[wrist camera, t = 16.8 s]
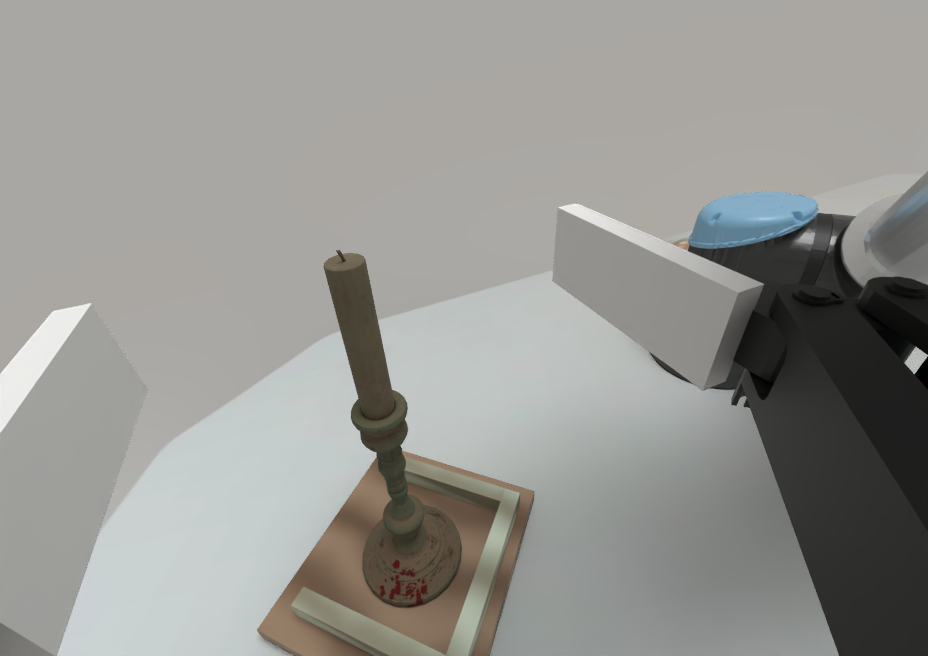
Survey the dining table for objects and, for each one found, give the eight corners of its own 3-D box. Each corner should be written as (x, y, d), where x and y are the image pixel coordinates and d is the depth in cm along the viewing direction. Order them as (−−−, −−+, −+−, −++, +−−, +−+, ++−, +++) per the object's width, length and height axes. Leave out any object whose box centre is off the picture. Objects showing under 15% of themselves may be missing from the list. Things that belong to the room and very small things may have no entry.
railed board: (386, 453, 49) (382, 433, 47) (533, 499, 43) (535, 479, 41) (262, 637, 34) (248, 619, 32) (462, 749, 28) (458, 734, 26)
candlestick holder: (345, 596, 35) (202, 285, 18) (383, 501, 42) (306, 217, 26) (449, 618, 33) (395, 295, 17) (470, 514, 41) (447, 219, 24)
